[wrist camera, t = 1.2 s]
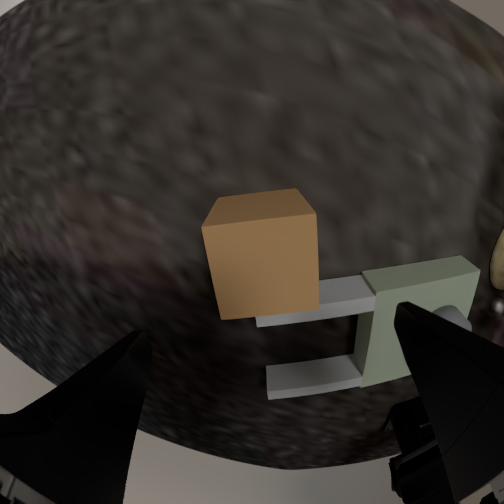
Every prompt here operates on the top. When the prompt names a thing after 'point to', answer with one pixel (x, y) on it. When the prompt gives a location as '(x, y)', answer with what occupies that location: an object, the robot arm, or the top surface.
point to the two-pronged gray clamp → (373, 323)
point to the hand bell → (498, 263)
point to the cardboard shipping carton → (263, 254)
